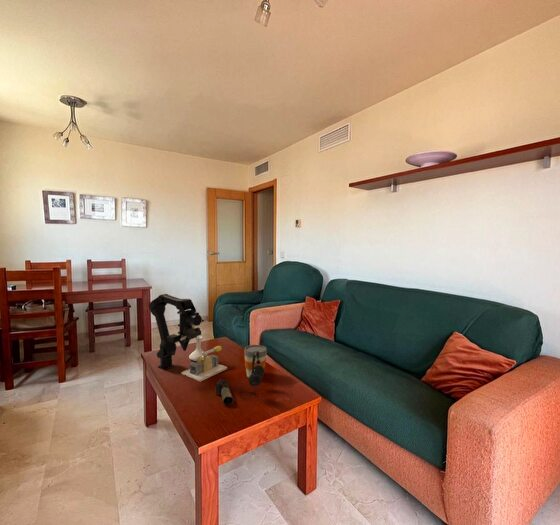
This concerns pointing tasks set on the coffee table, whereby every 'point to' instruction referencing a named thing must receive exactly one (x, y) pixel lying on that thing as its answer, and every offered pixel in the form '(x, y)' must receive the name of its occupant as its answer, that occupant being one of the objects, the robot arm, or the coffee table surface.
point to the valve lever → (211, 351)
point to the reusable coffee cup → (249, 357)
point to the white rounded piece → (198, 351)
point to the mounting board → (205, 373)
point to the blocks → (203, 364)
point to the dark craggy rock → (224, 391)
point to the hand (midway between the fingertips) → (184, 350)
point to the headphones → (255, 372)
